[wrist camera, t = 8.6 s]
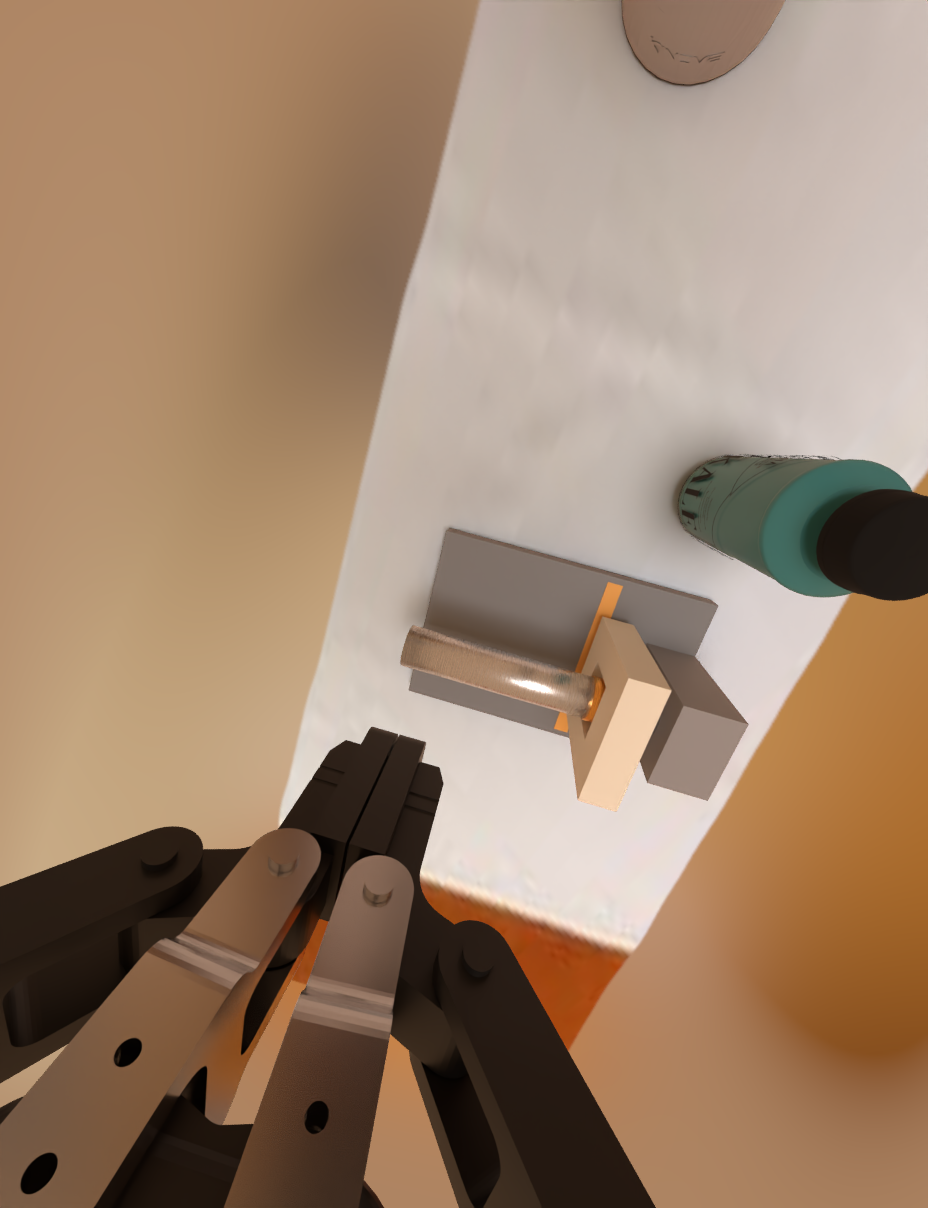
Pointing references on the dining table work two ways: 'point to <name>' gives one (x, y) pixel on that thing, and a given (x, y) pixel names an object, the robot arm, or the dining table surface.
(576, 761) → the beige rectangular block
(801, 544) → the beverage bottle
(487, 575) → the mount board
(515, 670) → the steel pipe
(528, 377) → the dining table surface
